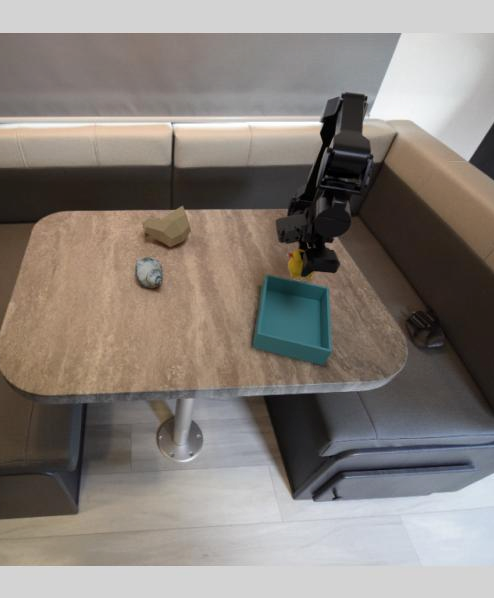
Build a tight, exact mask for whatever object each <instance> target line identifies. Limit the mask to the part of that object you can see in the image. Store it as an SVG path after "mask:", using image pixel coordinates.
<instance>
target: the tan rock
mask: <svg viewBox="0 0 494 598" xmlns="http://www.w3.org/2000/svg"><path fill="white" fill-rule="evenodd" d="M141 224H142V229H143V233H144V238H145V239H147V238H148V237H151V238H153V239H154V240H156V241H158V242H161V243H162V244H163V245H166V246H167V247H170V248H171V247H173V246H174V247H175V245H179V244H182V243H183V242H184V240H186V238H187V237H188V236H189V235H190V233H191V232H192V228H191V225H190V222H189V218H188V215H187V212H186V210H185V208H184V205H181V206H179V207H178V208H176V209H174V210H173V211H172V212H170V213H168V214H167V215H165V216H164V217H162V218H159V217H156V216H152V215H151V216H149V217H146V219H145V220H144V221H143V222H142V223H141Z"/></svg>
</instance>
